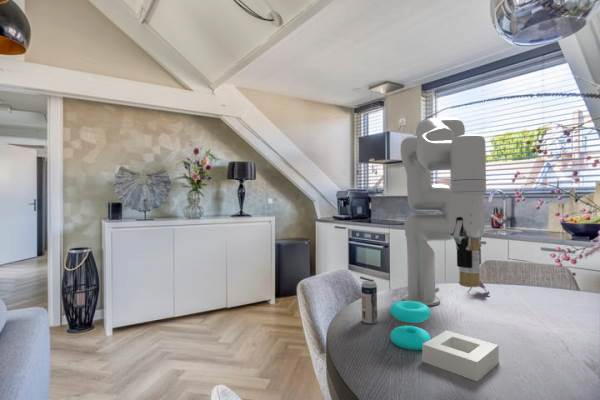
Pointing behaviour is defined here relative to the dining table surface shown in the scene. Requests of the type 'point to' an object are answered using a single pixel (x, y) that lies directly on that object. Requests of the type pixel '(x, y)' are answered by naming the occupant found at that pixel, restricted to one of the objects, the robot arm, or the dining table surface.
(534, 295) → the dining table surface
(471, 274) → the sprinkles bottle
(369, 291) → the beer can
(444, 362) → the socket block
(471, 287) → the lily
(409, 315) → the donuts
